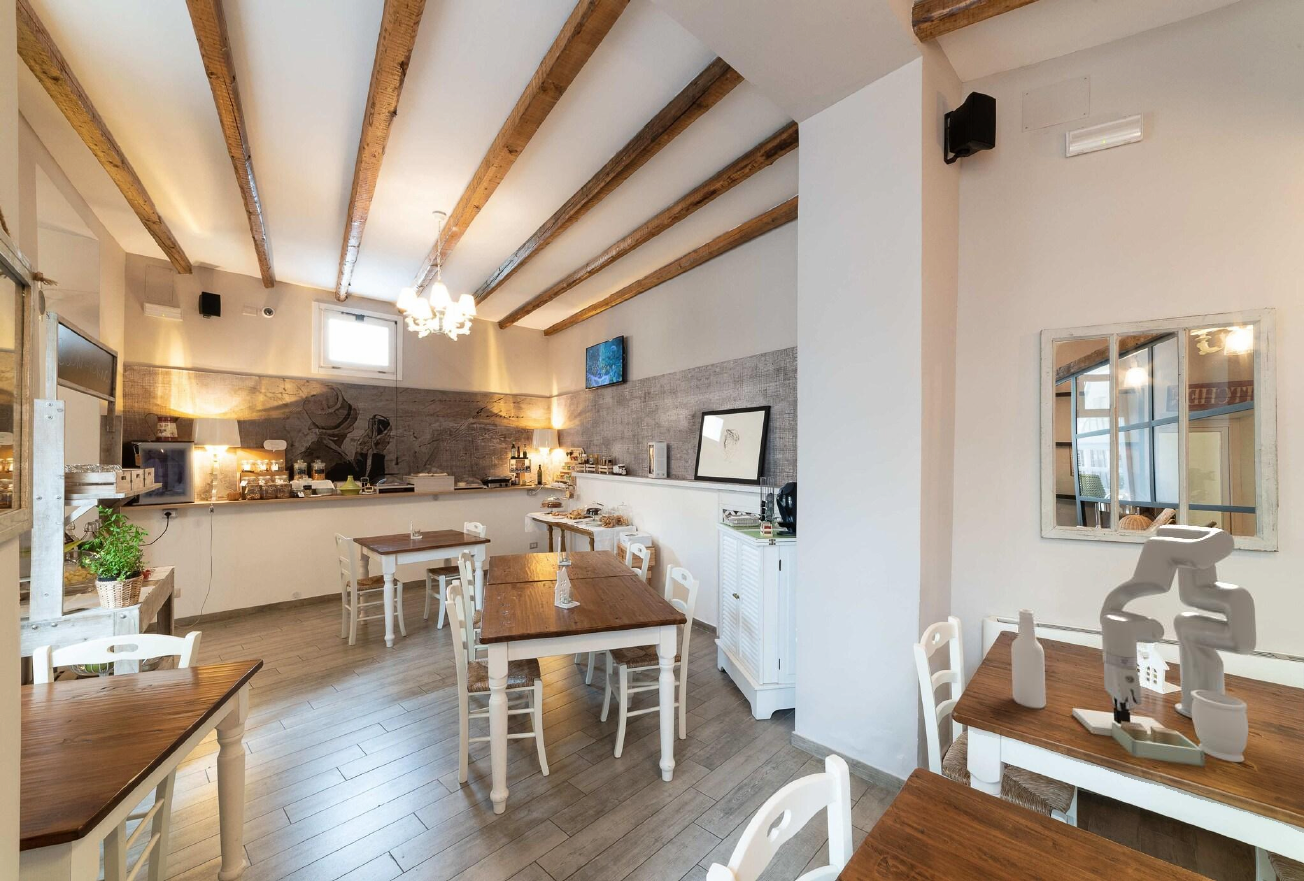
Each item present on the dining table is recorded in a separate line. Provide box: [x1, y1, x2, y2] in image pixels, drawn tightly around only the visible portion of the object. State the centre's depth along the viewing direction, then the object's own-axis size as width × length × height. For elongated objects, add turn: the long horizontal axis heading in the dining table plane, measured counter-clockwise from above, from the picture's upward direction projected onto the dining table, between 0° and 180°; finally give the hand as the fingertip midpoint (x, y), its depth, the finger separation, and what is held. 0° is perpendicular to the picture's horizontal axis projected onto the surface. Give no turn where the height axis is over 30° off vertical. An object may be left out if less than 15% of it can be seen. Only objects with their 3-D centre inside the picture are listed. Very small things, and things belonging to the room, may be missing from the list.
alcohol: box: [1010, 609, 1047, 709], centre depth 169 cm, size 9×9×30 cm
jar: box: [1191, 690, 1249, 763], centre depth 139 cm, size 11×10×15 cm
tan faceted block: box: [1150, 726, 1178, 746], centre depth 142 cm, size 4×4×3 cm
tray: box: [1111, 723, 1206, 767], centre depth 140 cm, size 15×10×4 cm
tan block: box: [1121, 721, 1147, 742], centre depth 144 cm, size 4×4×3 cm
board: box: [1072, 707, 1166, 740], centre depth 152 cm, size 20×12×2 cm, turn 72°
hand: (1122, 723), depth 149 cm, fingers closed
